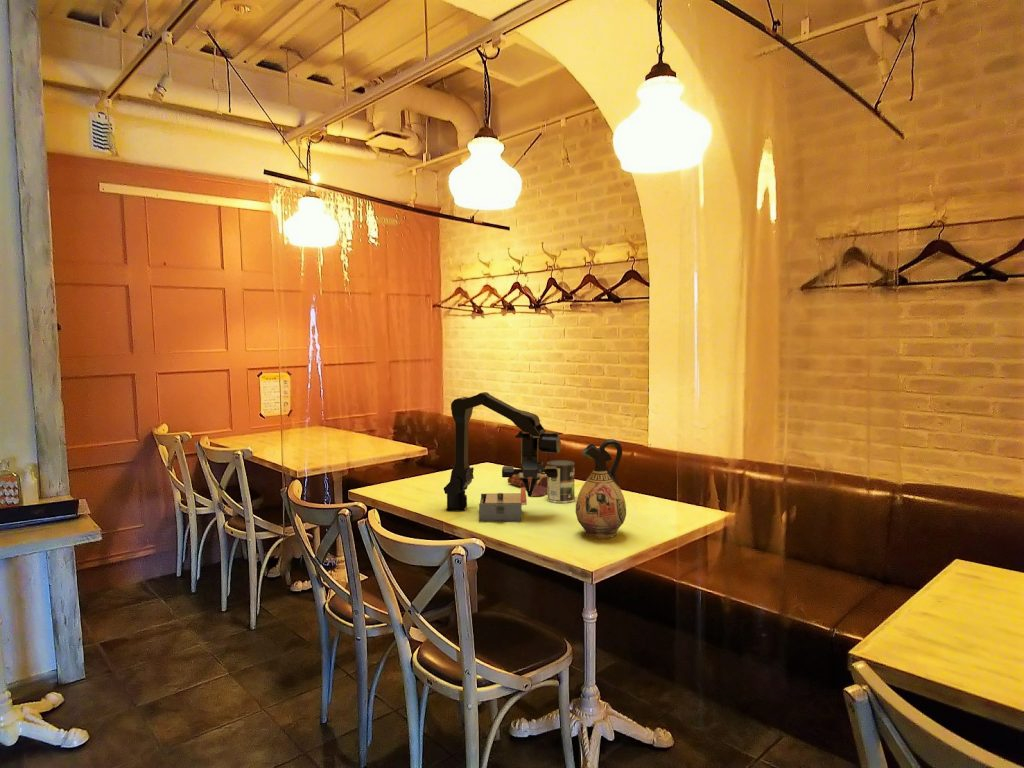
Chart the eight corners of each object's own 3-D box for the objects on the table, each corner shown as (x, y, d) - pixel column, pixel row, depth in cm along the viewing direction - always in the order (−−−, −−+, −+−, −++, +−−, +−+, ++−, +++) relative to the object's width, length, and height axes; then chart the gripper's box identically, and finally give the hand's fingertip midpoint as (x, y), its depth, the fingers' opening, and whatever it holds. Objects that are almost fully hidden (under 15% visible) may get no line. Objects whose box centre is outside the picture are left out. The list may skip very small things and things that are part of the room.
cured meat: (536, 499, 241) (536, 481, 240) (498, 486, 261) (498, 470, 261) (572, 493, 251) (572, 475, 251) (533, 481, 272) (533, 465, 271)
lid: (485, 505, 212) (485, 495, 212) (486, 496, 224) (486, 486, 223) (526, 505, 212) (526, 495, 212) (526, 496, 224) (526, 486, 223)
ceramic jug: (576, 542, 190) (577, 442, 188) (574, 527, 205) (574, 434, 203) (634, 543, 189) (635, 442, 187) (627, 527, 204) (628, 434, 202)
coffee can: (576, 496, 243) (576, 460, 242) (573, 504, 233) (573, 465, 232) (549, 495, 245) (549, 459, 244) (545, 502, 235) (545, 464, 234)
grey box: (478, 524, 209) (478, 506, 208) (481, 508, 228) (481, 491, 227) (521, 523, 209) (521, 505, 208) (521, 508, 228) (521, 491, 227)
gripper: (501, 455, 208) (501, 503, 210) (559, 455, 208) (558, 503, 210) (502, 449, 220) (502, 494, 221) (556, 449, 220) (556, 494, 221)
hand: (529, 496), depth 218 cm, fingers closed
